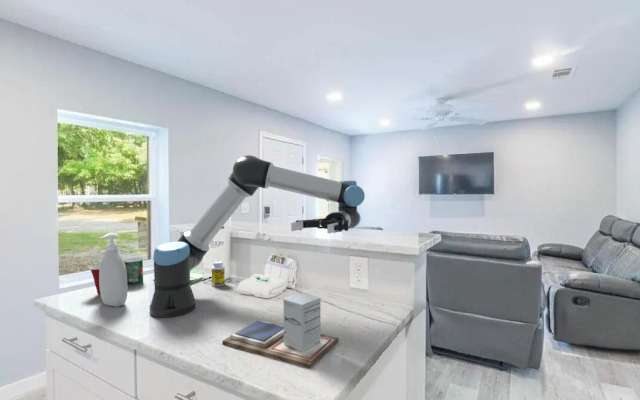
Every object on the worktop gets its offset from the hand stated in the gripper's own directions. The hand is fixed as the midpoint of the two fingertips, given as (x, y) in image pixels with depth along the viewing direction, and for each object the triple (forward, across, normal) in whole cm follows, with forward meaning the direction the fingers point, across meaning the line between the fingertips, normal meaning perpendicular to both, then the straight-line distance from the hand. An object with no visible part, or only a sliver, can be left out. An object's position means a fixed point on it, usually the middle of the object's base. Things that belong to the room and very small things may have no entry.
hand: (309, 228), depth 111 cm
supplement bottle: (-15, +56, -30) cm, 65 cm away
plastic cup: (+15, +89, -30) cm, 95 cm away
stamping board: (+19, -1, -30) cm, 35 cm away
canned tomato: (+1, +92, -30) cm, 97 cm away
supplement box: (+19, -8, -29) cm, 35 cm away
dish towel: (-15, +76, -31) cm, 84 cm away
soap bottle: (+22, +73, -30) cm, 82 cm away
